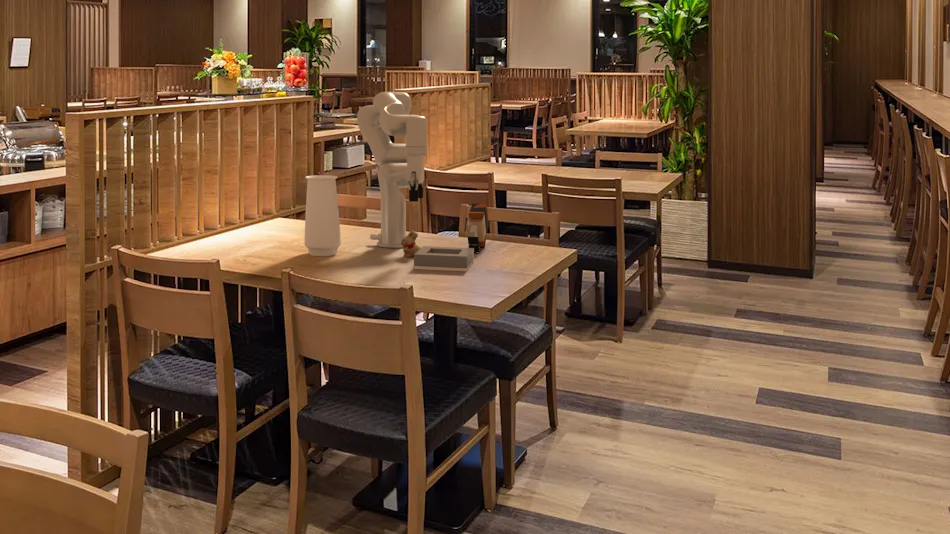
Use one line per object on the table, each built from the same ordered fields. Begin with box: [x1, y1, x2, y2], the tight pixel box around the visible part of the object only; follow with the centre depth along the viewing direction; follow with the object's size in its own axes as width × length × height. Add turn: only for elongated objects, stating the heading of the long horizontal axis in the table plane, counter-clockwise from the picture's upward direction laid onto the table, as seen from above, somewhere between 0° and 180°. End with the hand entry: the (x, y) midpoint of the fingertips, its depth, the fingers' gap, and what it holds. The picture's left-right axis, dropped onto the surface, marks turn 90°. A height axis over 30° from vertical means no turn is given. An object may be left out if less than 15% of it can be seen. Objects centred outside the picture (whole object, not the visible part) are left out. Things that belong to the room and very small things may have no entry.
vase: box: [304, 174, 342, 257], centre depth 322 cm, size 13×13×28 cm
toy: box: [466, 202, 490, 253], centre depth 337 cm, size 16×6×20 cm
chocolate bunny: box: [401, 229, 422, 259], centre depth 321 cm, size 6×8×10 cm
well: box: [413, 245, 475, 272], centre depth 306 cm, size 18×16×5 cm
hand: (416, 199), depth 319 cm, fingers open, 9 cm apart
